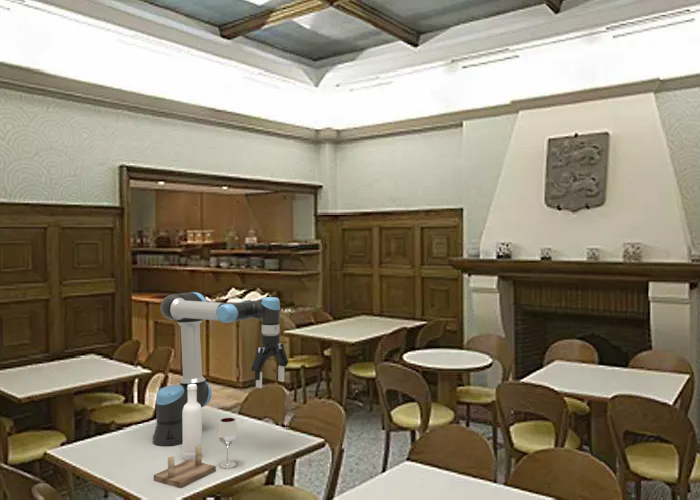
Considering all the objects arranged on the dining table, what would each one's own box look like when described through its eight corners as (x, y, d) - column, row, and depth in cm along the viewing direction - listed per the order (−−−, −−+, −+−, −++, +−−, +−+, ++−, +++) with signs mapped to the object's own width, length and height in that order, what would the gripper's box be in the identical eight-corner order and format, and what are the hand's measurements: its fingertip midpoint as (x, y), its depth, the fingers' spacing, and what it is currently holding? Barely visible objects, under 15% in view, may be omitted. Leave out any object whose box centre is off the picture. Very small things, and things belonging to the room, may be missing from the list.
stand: (153, 480, 220) (153, 456, 220) (189, 464, 236) (188, 441, 236) (181, 488, 213) (181, 463, 213) (215, 471, 229) (215, 447, 229)
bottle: (205, 458, 242) (204, 385, 241) (186, 463, 237) (185, 388, 237) (198, 453, 248) (197, 381, 248) (179, 457, 244) (179, 384, 243)
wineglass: (218, 461, 239) (218, 417, 238) (239, 461, 239) (239, 416, 239) (216, 469, 230) (215, 423, 230) (237, 468, 231) (237, 422, 231)
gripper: (256, 339, 238) (255, 391, 238) (296, 331, 258) (296, 380, 259) (242, 337, 242) (242, 388, 243) (283, 329, 263) (283, 377, 263)
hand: (270, 384), depth 251 cm, fingers open, 13 cm apart
